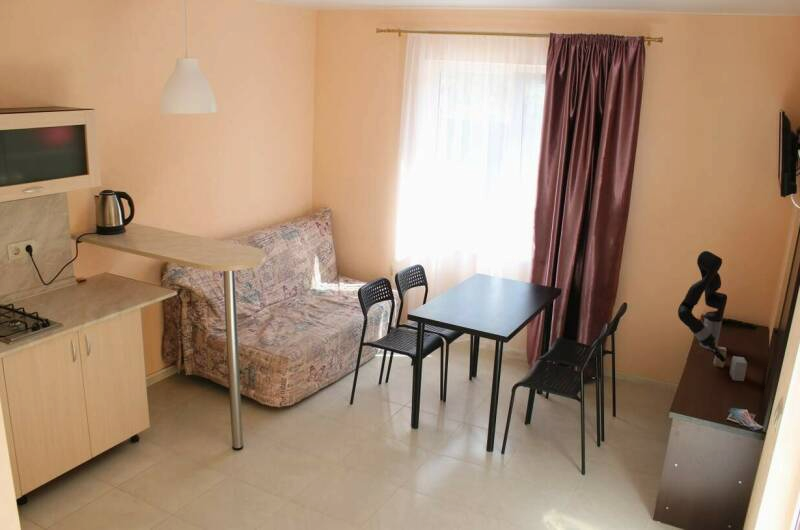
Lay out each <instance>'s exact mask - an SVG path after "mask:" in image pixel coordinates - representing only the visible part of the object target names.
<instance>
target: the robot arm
mask: <svg viewBox="0 0 800 530" xmlns="http://www.w3.org/2000/svg"><path fill="white" fill-rule="evenodd" d="M696 264H697V266H698V267H697V268H698V269H699V272H700V275H701V279H700V280H698V281H696V282H695V283H693V284H692V285H690V287H689V289H688V291H687V293H686V295H685V296H684V299H683V300H682V301H681V303H680V304H679V306H678V309H677V315H678V319H679V320H680V321H681V323H683V324H684V325H685V326H687V327H688V329H689V330H690V331H691V332H692V333H693V335H694V336H695V338H696V339H697V340H698V341H699V346H700V347H701V348H703V349H706V350H710V351H711V352H712V353H713V354H714V356H715V355H716V357H717V358H719V359H720V360H721V361H722V362H724V361H725V362H726V361H727V359H726V358H724V357H723V356H722V354H721V353H720V350H719V349H718V347H719V346H718V343H719V338H720V333H721V327H722V325H723V324H722V322H723V318H724V314H725V309H726V305H727V302H728V295H727V294H726V293H723V292H718V291H719V290H720V288H721V287H722V281H721V280H722V279H721V275H720V274H719V271H720V268H721V267H722V264H723V258H721V257H720V256H718V255H716V254H714V253H713V252H711V251H708V250H704V251H702V252H700V253H699V255H698V256H697V259H696ZM703 293H704V302H705V305H706V306H707V307H708V308H712V309H717V310H714V311H707V312H705V315H704V321H703V322H702V321H701V320H700V319H699V318H697V317H696V316H695V315H694V314H693V310H694V308H695V307H696V306H697V304H699V302H700V300H701V298H702V296H703ZM717 354H719V355H717ZM725 362H724V363H725Z"/></svg>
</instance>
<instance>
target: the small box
mask: <svg viewBox="0 0 800 530" xmlns="http://www.w3.org/2000/svg"><path fill="white" fill-rule="evenodd" d="M747 367H748V363H747V360H746V358H745V357H742V356H736V355H733V356H732V358H731V363H730V368H729V376H730V378H731V379H732V381H738V382H739V381H740V382H745V378H746V371H747Z"/></svg>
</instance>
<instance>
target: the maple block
mask: <svg viewBox="0 0 800 530" xmlns="http://www.w3.org/2000/svg"><path fill="white" fill-rule="evenodd" d="M718 349H719V350H720V353H721V354H722V356H723V357H724V358H725V359H726V357H727V351H728V350H727V348H726V347H725V346H718ZM717 355H719V354H717ZM712 362H713V365H714V367H717V368H724V367H725V362H726V361H724V362H722V361H721V360H720V359H719V358H717V357H716V355H715V354H714V359H713V361H712Z"/></svg>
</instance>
